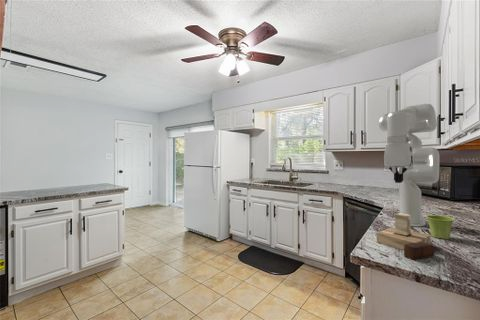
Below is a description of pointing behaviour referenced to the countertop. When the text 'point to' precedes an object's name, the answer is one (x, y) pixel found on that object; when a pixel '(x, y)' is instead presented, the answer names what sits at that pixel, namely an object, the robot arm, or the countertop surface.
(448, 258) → the countertop surface
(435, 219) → the plant pot
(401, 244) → the seat board
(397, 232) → the peg
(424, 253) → the brick
